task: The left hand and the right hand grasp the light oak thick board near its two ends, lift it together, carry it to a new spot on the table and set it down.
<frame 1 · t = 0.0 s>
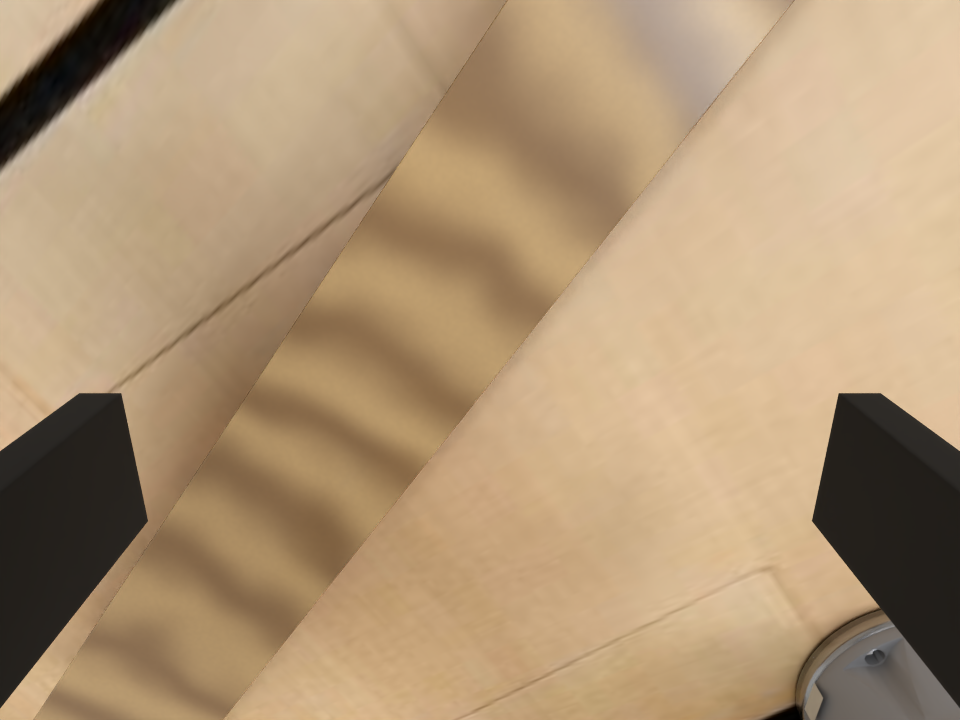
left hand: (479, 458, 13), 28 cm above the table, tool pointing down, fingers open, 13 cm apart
thick board: (409, 309, 41), on the table
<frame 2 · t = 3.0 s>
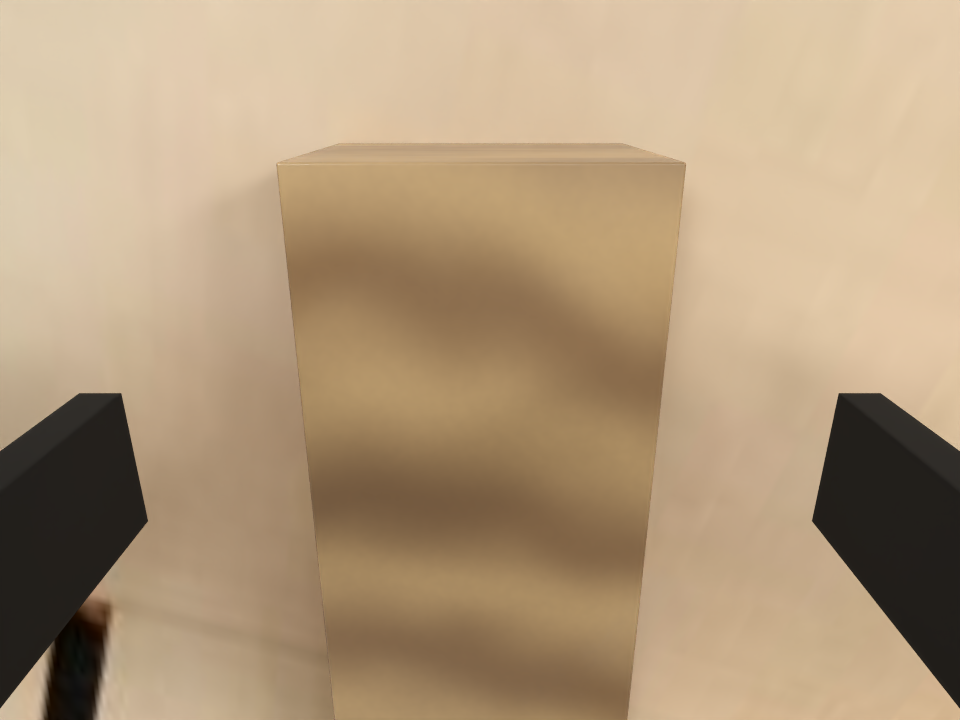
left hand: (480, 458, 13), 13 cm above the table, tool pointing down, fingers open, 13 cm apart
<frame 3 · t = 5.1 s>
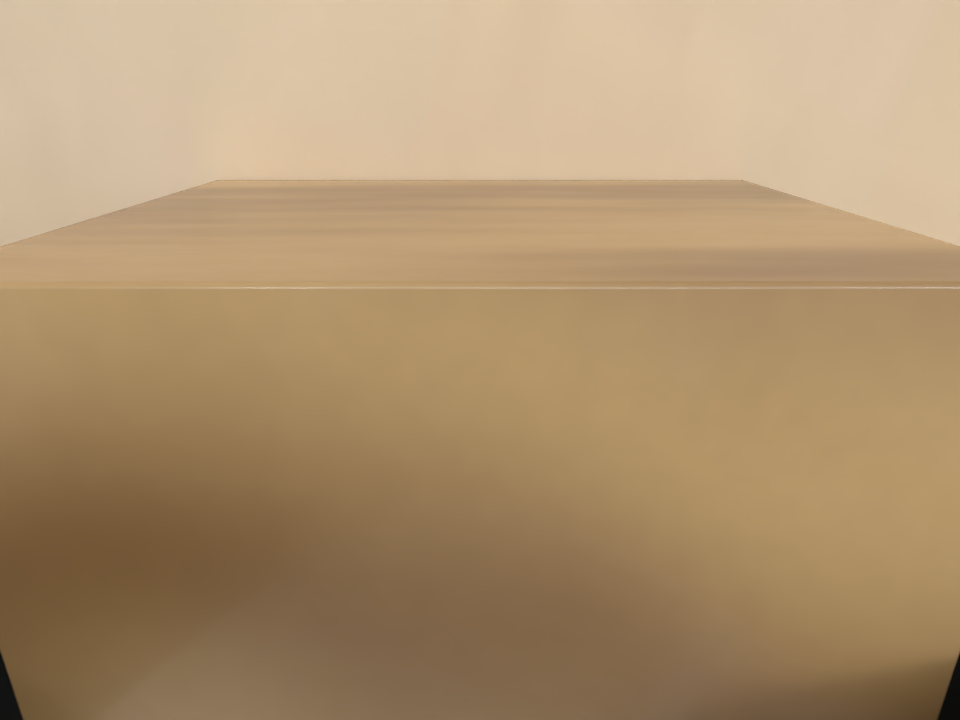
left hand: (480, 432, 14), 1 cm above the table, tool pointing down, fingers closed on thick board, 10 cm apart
when the left hand's fingers open (2 cm above the table, at t = 10.5 s): thick board stays where it is, on the table.
when the right hand's fingers open (2 cm above the table, at t = 10.5 s): thick board stays where it is, on the table.
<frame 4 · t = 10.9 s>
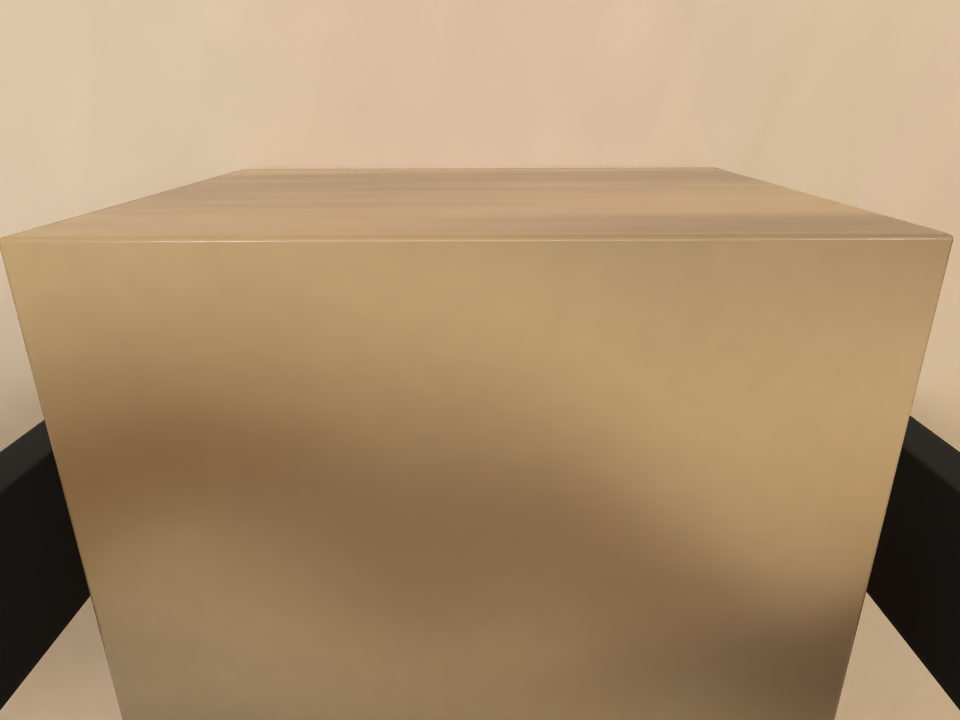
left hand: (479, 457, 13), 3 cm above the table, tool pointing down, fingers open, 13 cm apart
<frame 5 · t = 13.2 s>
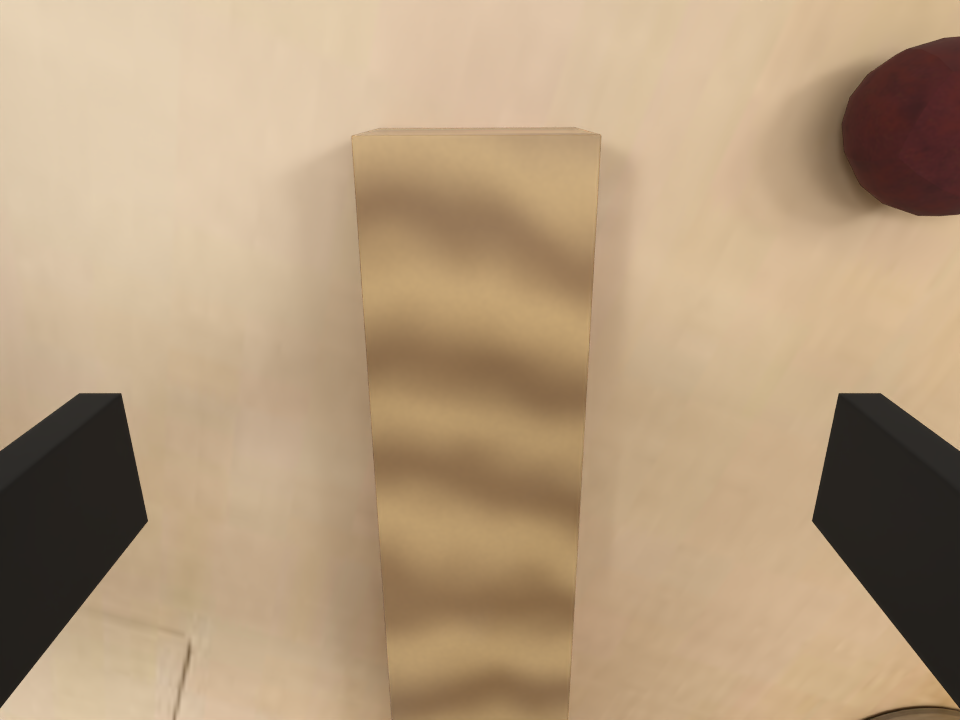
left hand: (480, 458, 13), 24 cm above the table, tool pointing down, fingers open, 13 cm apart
thick board: (480, 668, 45), on the table
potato: (890, 124, 33), on the table
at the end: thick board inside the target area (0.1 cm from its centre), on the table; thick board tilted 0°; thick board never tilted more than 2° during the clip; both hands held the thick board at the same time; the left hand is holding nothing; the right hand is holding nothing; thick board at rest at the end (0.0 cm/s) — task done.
